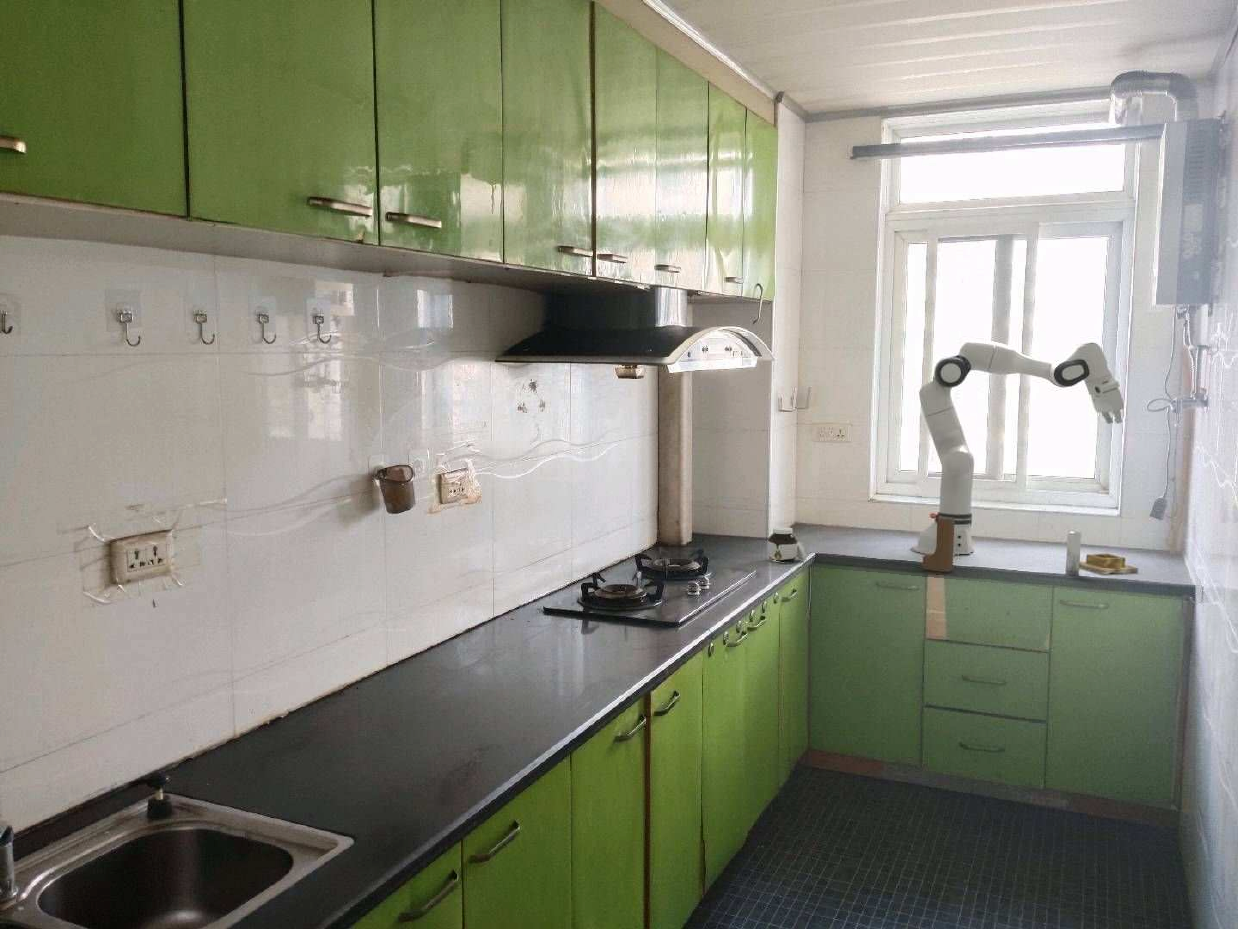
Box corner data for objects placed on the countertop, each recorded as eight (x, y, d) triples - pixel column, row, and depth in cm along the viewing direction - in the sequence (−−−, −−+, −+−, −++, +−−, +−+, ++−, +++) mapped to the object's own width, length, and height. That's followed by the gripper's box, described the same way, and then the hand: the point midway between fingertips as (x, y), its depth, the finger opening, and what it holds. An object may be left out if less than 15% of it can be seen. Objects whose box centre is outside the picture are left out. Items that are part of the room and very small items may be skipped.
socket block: (1101, 574, 328) (1102, 561, 328) (1073, 566, 342) (1073, 553, 342) (1137, 572, 332) (1138, 559, 331) (1108, 564, 345) (1108, 551, 345)
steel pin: (1071, 575, 327) (1073, 533, 325) (1062, 573, 331) (1065, 531, 329) (1081, 575, 328) (1083, 533, 326) (1073, 572, 332) (1075, 531, 330)
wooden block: (921, 569, 336) (923, 516, 334) (926, 567, 340) (928, 515, 338) (948, 573, 331) (950, 519, 329) (953, 570, 334) (955, 517, 332)
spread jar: (763, 560, 351) (764, 527, 350) (785, 556, 358) (785, 524, 357) (790, 566, 342) (790, 532, 341) (811, 561, 349) (812, 528, 348)
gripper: (1082, 390, 360) (1096, 426, 360) (1101, 388, 340) (1115, 426, 340) (1100, 384, 359) (1113, 420, 359) (1120, 381, 339) (1134, 419, 339)
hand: (1114, 423), depth 349 cm, fingers open, 8 cm apart
